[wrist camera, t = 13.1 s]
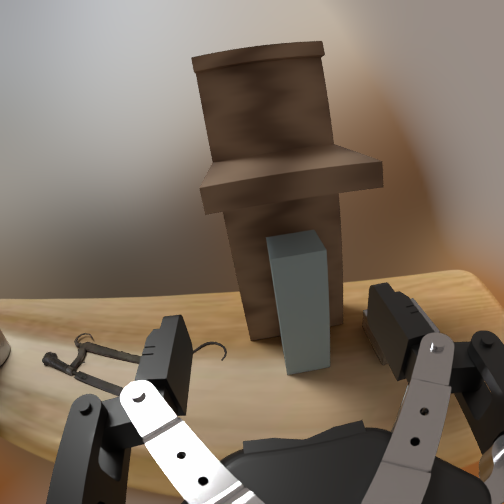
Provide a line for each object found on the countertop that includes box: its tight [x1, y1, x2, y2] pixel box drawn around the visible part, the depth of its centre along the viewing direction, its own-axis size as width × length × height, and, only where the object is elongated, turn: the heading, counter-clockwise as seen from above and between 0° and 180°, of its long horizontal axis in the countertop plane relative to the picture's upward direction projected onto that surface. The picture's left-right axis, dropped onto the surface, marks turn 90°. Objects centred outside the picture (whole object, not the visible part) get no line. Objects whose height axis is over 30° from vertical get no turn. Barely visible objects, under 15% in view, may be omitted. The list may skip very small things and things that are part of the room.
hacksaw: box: [42, 333, 227, 396], centre depth 31 cm, size 24×10×2 cm, turn 72°
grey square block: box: [362, 298, 440, 365], centre depth 27 cm, size 6×6×2 cm
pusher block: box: [266, 230, 330, 375], centre depth 26 cm, size 4×4×12 cm
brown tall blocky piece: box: [192, 41, 383, 340], centre depth 24 cm, size 10×13×27 cm
